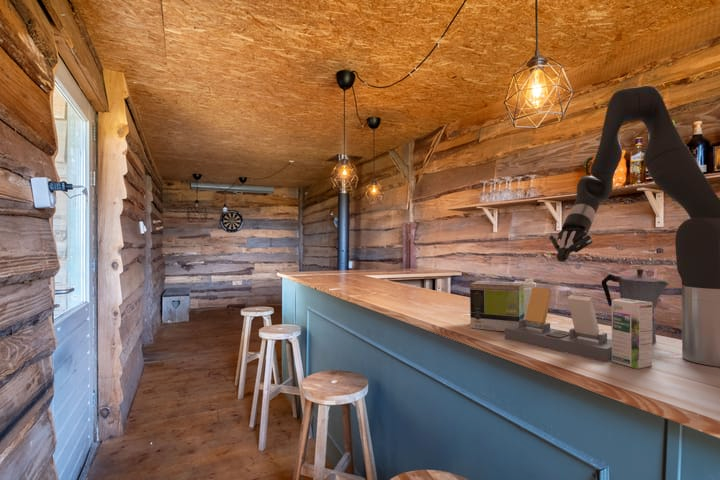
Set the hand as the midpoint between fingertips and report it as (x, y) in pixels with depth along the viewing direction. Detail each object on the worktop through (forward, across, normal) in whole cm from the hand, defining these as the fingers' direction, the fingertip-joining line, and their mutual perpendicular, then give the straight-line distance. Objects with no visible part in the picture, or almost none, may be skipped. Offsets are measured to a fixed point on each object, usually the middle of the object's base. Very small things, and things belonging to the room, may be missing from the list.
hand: (560, 259), depth 115 cm
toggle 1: (+24, 0, +2) cm, 24 cm away
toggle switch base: (+27, +7, +4) cm, 28 cm away
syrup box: (+28, +24, +3) cm, 37 cm away
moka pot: (+11, +17, +20) cm, 29 cm away
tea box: (+24, -15, +8) cm, 29 cm away
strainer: (+14, -13, +17) cm, 26 cm away
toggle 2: (+24, +14, +2) cm, 28 cm away
